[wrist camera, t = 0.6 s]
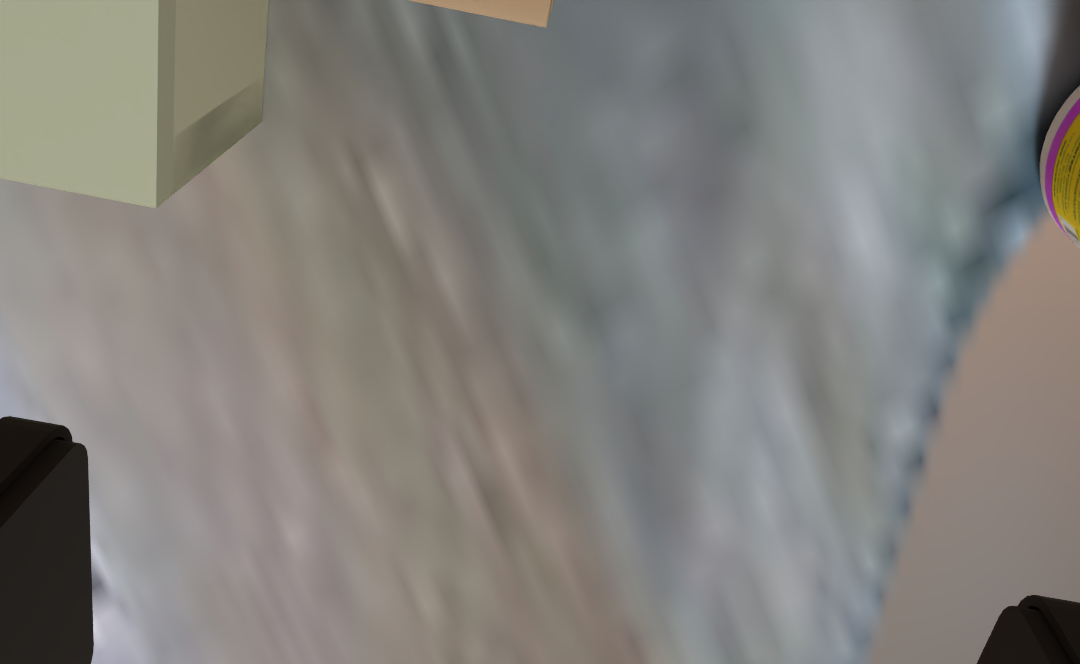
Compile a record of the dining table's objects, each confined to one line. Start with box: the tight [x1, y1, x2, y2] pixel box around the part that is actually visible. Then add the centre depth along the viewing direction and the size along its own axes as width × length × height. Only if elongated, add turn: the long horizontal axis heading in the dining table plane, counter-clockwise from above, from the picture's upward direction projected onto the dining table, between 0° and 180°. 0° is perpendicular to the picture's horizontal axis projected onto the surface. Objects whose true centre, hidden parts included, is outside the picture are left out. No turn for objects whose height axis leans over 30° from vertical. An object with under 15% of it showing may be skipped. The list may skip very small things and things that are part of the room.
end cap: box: [0, 0, 269, 208], centre depth 26 cm, size 6×7×8 cm
